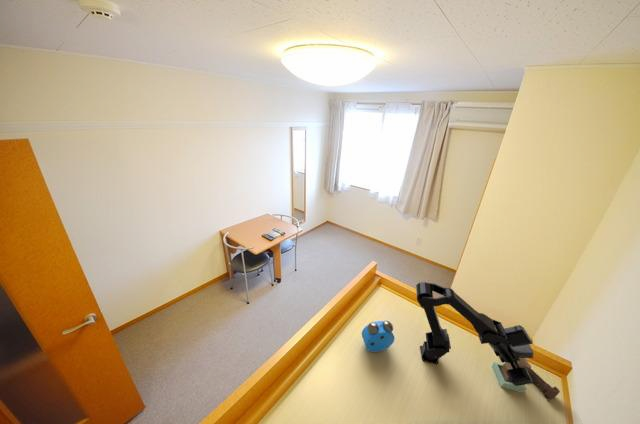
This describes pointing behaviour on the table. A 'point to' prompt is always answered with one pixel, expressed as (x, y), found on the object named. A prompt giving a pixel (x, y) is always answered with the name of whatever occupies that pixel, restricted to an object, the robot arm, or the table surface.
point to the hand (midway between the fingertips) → (518, 369)
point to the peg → (507, 366)
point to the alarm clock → (378, 336)
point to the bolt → (544, 385)
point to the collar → (502, 382)
